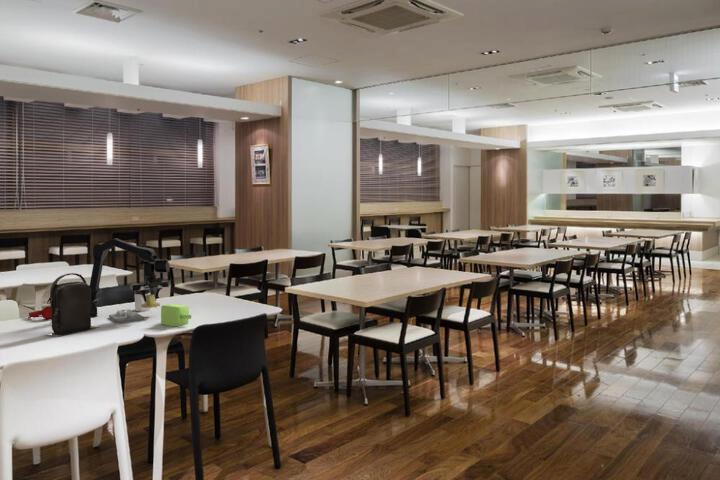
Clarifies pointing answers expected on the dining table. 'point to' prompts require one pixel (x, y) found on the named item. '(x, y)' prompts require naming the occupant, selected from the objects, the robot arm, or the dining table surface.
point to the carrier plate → (126, 316)
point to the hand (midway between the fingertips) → (150, 301)
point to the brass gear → (150, 302)
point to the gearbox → (175, 315)
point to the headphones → (42, 313)
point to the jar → (140, 300)
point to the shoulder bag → (71, 307)
